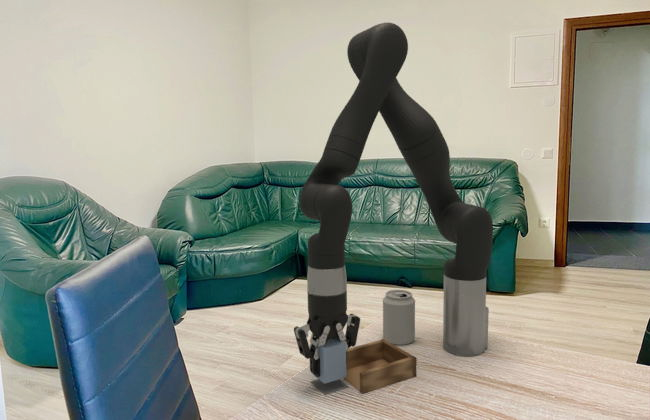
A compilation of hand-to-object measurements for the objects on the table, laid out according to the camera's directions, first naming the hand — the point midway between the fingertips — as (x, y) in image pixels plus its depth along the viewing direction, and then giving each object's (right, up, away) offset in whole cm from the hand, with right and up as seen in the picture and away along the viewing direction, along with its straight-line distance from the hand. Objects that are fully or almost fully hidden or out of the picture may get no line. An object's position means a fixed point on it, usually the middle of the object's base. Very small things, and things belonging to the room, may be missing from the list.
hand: (328, 371), depth 98 cm
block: (0, -1, 0) cm, 1 cm away
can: (+17, 0, +21) cm, 27 cm away
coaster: (0, -3, +1) cm, 3 cm away
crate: (+9, -2, +5) cm, 11 cm away
